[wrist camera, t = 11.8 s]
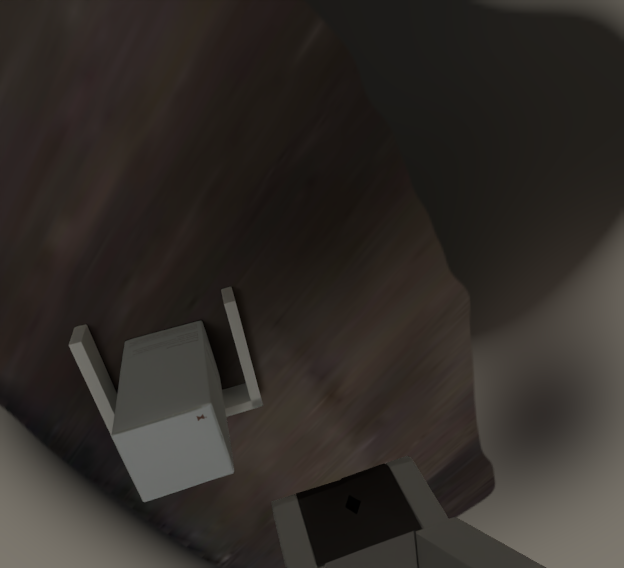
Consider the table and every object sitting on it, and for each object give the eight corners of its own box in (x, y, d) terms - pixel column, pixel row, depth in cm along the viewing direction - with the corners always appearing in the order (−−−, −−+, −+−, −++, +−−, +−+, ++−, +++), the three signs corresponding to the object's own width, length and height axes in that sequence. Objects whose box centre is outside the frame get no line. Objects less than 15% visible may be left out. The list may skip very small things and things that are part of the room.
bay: (74, 327, 42) (68, 345, 40) (231, 286, 45) (235, 300, 42) (120, 428, 48) (117, 449, 45) (258, 387, 50) (263, 405, 48)
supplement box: (122, 339, 44) (107, 434, 33) (203, 317, 45) (214, 402, 34) (147, 401, 48) (140, 506, 37) (221, 379, 49) (237, 475, 38)
